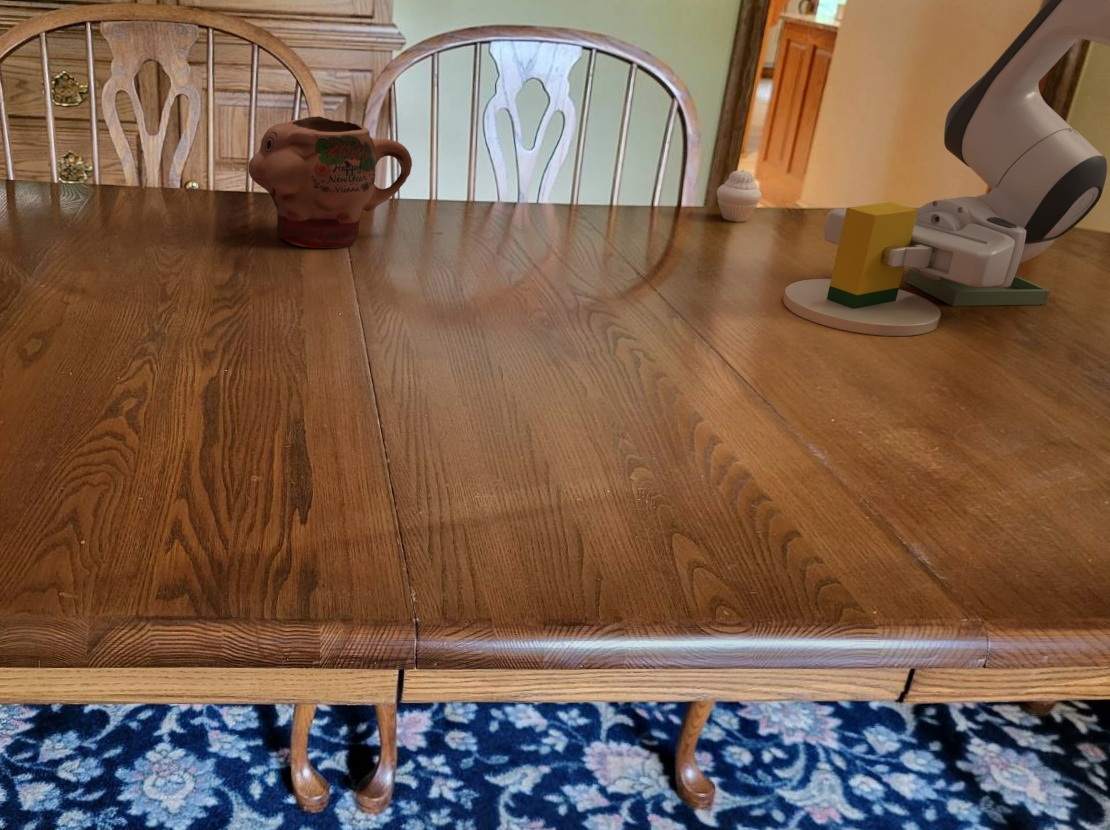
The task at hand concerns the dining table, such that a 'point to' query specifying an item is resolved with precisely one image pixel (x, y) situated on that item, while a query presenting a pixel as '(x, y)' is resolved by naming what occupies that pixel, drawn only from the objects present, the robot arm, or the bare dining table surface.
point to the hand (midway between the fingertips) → (867, 251)
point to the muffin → (738, 196)
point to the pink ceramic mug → (323, 178)
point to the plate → (862, 311)
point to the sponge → (870, 254)
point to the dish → (980, 292)
